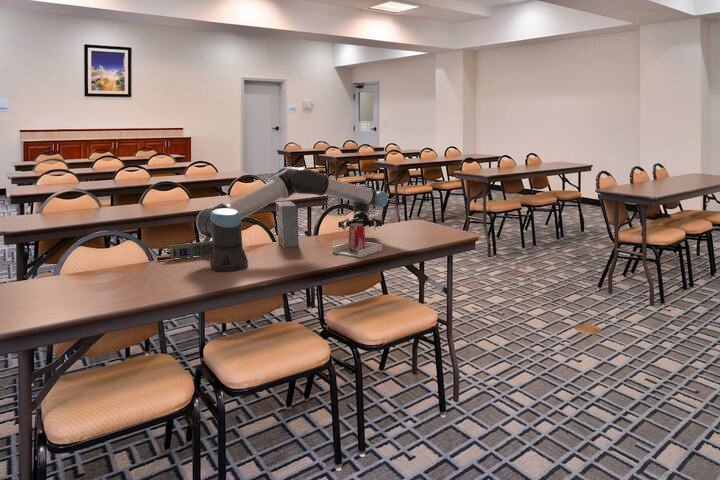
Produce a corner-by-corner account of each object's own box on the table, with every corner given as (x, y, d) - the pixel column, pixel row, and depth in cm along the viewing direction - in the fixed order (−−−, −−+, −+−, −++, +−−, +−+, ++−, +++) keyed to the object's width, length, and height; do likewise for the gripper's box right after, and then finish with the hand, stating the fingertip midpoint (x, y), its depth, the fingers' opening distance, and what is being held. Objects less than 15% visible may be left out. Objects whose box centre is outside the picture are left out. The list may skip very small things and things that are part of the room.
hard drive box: (277, 242, 279) (275, 201, 275) (293, 240, 281) (291, 200, 277) (283, 248, 264) (280, 205, 260) (299, 246, 266) (297, 204, 263)
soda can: (365, 252, 247) (364, 225, 245) (349, 253, 248) (348, 226, 245) (365, 248, 254) (364, 222, 252) (349, 249, 254) (348, 223, 252)
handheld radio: (216, 255, 254) (157, 262, 244) (214, 254, 257) (157, 261, 247) (215, 241, 253) (156, 247, 243) (213, 240, 256) (155, 246, 246)
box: (359, 257, 240) (359, 250, 239) (332, 253, 250) (332, 246, 250) (383, 250, 252) (383, 244, 251) (356, 246, 262) (356, 240, 261)
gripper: (386, 226, 275) (387, 234, 254) (335, 227, 276) (332, 236, 255) (386, 210, 273) (387, 218, 253) (334, 212, 274) (331, 219, 253)
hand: (359, 227), depth 254 cm, fingers open, 13 cm apart
